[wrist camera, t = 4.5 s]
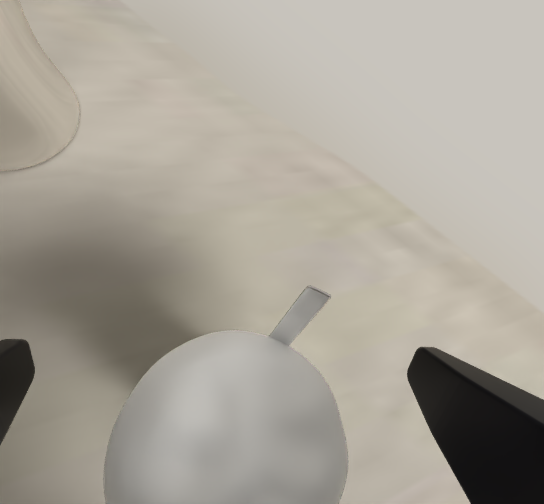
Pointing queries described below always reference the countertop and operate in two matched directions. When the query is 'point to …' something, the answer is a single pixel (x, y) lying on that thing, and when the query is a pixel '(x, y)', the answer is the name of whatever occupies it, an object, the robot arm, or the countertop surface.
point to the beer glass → (31, 96)
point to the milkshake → (231, 423)
